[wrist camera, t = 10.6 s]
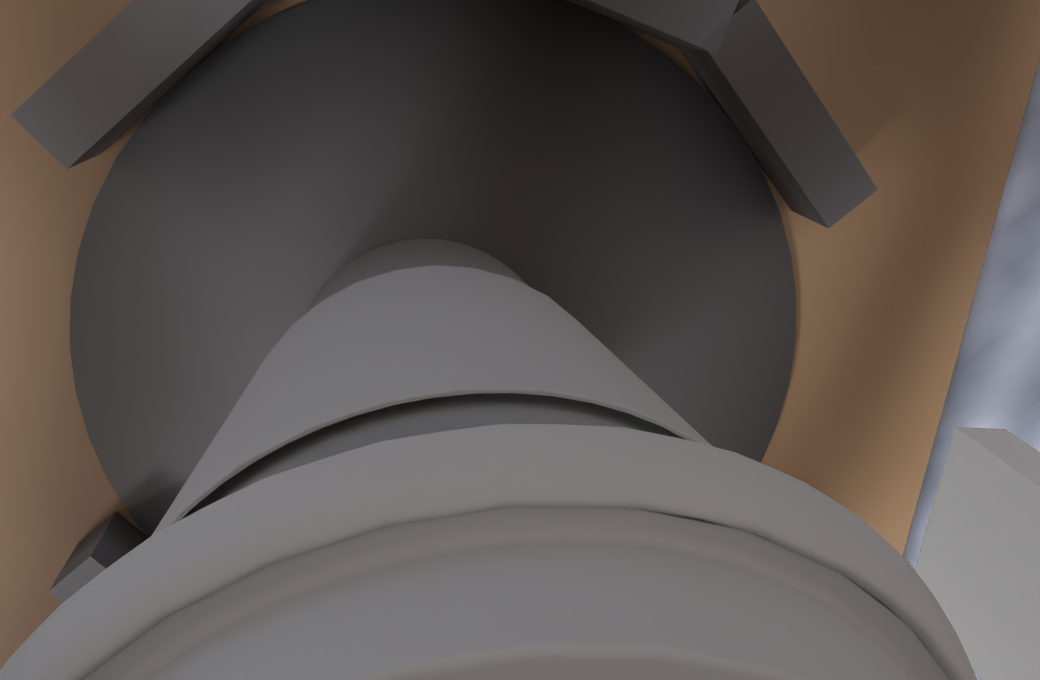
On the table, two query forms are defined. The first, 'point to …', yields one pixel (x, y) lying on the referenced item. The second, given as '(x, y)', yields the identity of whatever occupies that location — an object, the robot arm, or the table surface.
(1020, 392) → the table surface
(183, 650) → the cup
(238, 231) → the ring holder
